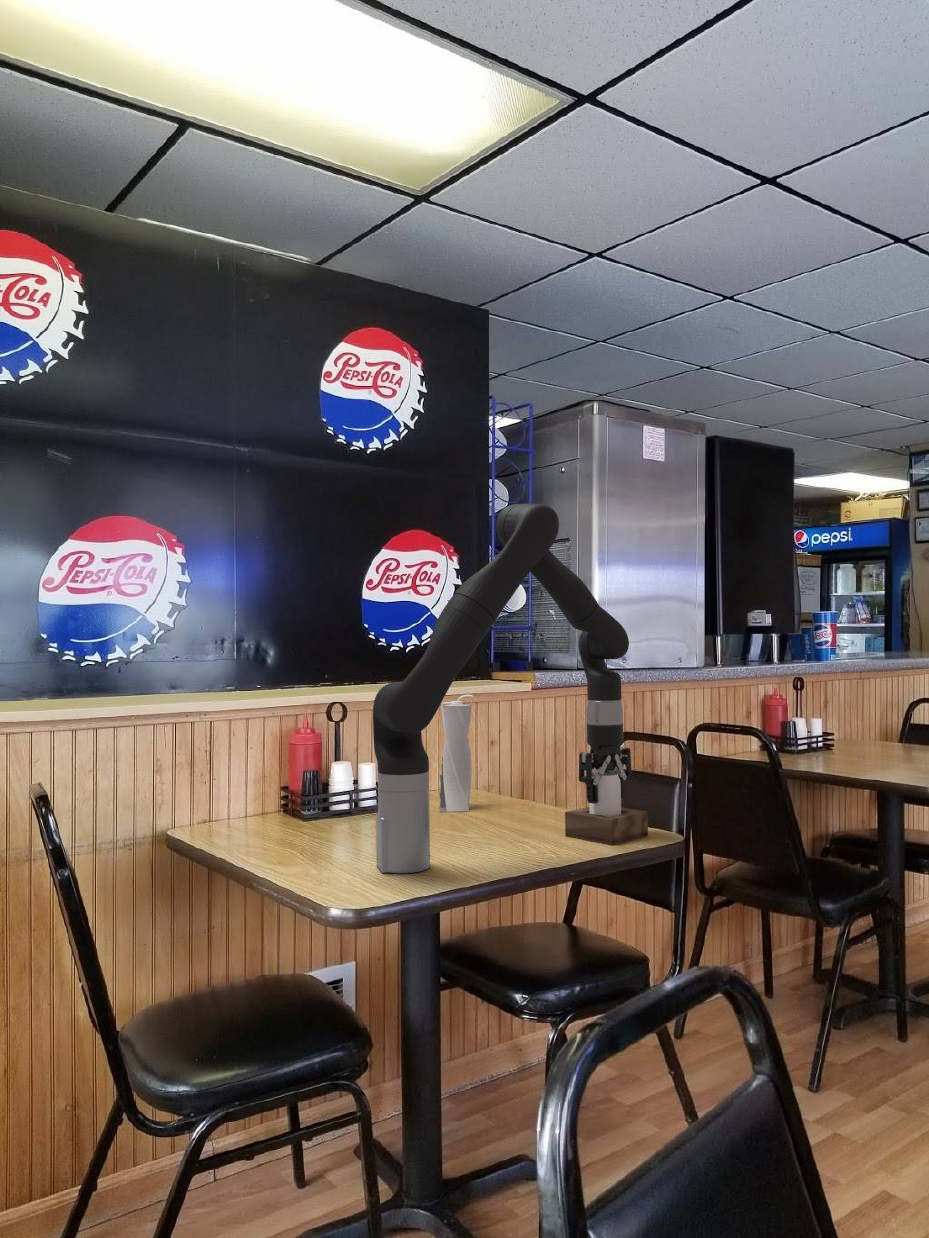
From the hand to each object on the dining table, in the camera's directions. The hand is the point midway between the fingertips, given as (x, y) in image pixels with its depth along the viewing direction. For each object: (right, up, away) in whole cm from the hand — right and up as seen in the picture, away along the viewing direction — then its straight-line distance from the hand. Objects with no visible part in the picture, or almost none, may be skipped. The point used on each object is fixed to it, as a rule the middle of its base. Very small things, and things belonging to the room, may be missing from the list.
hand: (606, 800), depth 192 cm
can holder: (0, -7, 0) cm, 7 cm away
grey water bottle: (-31, -9, +32) cm, 45 cm away
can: (0, -7, 0) cm, 7 cm away
